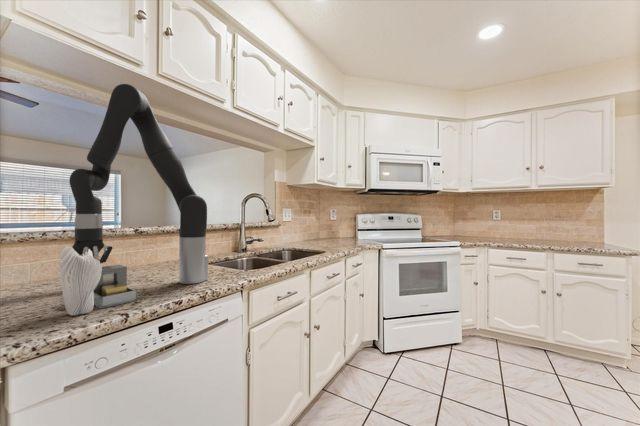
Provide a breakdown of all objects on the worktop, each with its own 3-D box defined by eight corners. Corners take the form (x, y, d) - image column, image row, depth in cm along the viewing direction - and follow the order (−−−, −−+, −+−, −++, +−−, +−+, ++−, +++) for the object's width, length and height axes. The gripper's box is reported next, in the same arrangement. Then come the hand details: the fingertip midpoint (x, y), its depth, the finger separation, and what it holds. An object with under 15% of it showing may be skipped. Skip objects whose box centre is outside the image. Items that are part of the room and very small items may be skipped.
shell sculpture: (94, 305, 79) (94, 242, 79) (102, 312, 73) (102, 244, 73) (54, 313, 72) (54, 244, 72) (59, 321, 67) (60, 247, 67)
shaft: (92, 280, 99) (92, 258, 99) (114, 290, 86) (114, 265, 86) (82, 282, 96) (82, 259, 97) (102, 293, 84) (102, 266, 84)
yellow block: (121, 283, 85) (126, 285, 83) (121, 296, 85) (126, 299, 83) (101, 287, 81) (106, 289, 79) (101, 300, 81) (106, 303, 79)
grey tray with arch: (120, 292, 91) (120, 264, 91) (137, 300, 83) (137, 269, 83) (85, 299, 84) (85, 268, 84) (100, 308, 76) (100, 274, 76)
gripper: (109, 226, 105) (109, 271, 105) (59, 227, 93) (58, 278, 93) (116, 226, 100) (116, 274, 100) (64, 228, 89) (64, 282, 89)
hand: (88, 276), depth 97 cm, fingers closed on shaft, 3 cm apart
